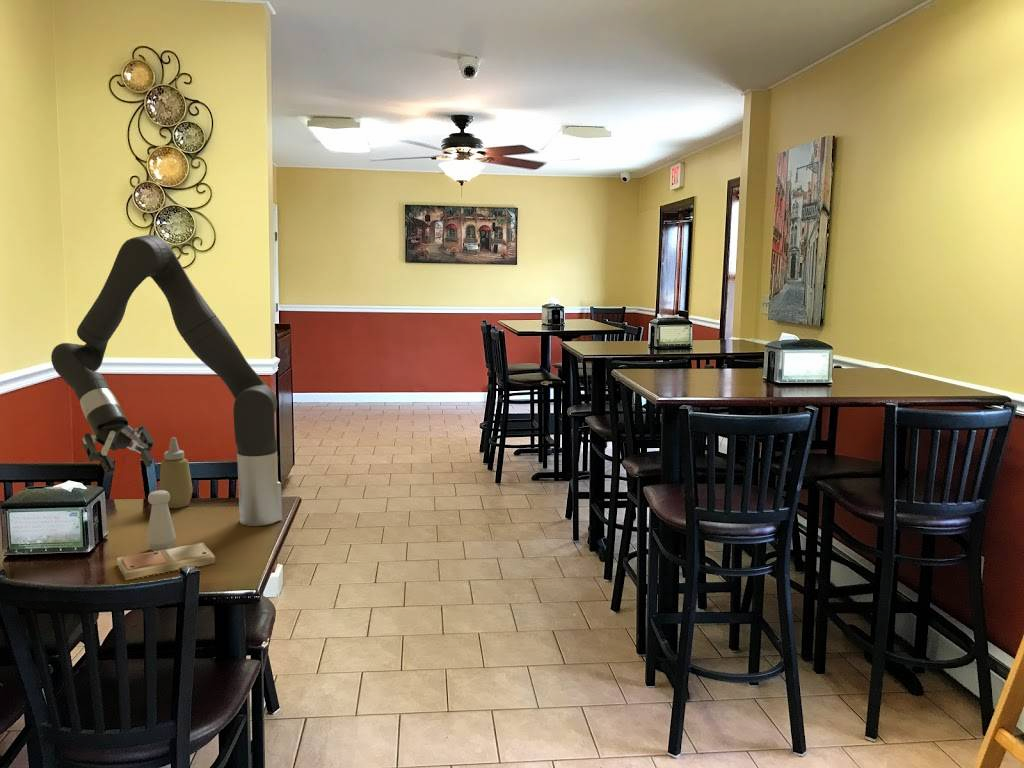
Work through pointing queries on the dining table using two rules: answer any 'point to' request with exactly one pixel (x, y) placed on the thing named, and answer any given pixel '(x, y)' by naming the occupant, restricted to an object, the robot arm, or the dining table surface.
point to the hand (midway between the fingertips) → (131, 468)
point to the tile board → (165, 560)
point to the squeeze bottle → (176, 476)
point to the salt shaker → (160, 522)
